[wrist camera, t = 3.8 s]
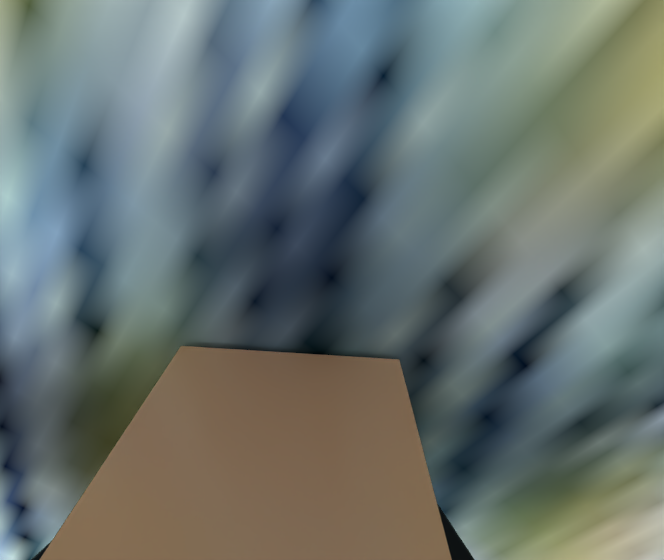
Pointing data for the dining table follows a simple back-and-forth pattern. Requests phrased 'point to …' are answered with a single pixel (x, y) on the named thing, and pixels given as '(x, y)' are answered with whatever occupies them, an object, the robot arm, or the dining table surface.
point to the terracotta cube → (263, 466)
